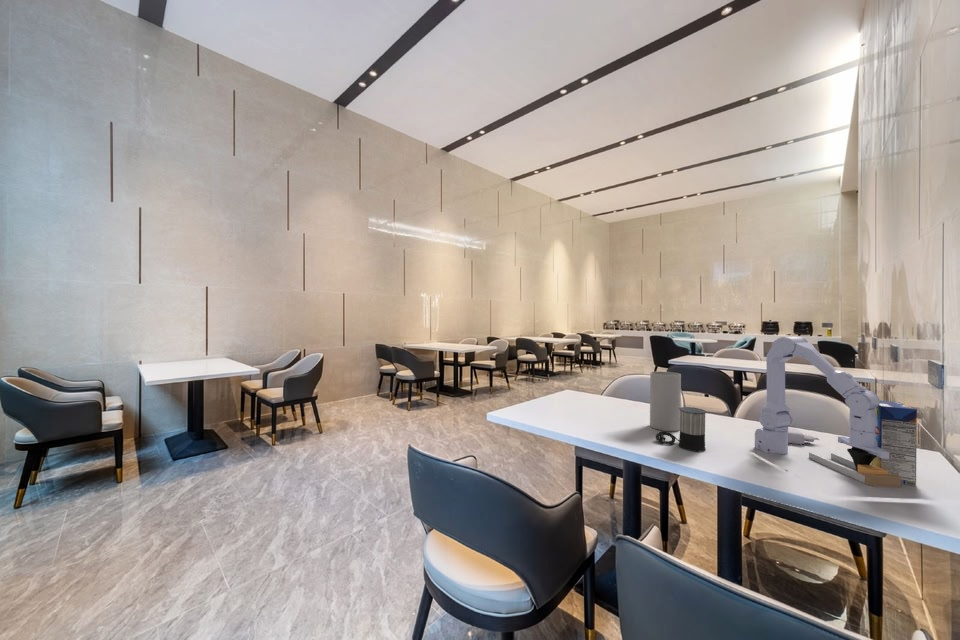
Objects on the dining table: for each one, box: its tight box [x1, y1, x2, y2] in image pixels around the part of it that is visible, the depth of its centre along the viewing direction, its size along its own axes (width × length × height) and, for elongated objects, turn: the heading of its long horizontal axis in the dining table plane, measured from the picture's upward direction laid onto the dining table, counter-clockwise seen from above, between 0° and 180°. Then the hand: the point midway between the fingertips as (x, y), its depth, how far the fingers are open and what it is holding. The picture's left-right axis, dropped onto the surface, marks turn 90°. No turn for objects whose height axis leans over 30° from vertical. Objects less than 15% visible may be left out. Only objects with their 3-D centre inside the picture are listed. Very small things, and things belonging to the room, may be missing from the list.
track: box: [808, 451, 901, 488], centre depth 119 cm, size 8×22×4 cm, turn 176°
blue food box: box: [870, 400, 918, 487], centre depth 116 cm, size 12×8×24 cm, turn 148°
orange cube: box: [858, 465, 888, 475], centre depth 112 cm, size 4×4×4 cm
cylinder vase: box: [649, 371, 682, 432], centre depth 169 cm, size 12×12×25 cm
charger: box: [788, 427, 820, 446], centre depth 151 cm, size 5×9×15 cm
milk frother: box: [655, 406, 707, 452], centre depth 145 cm, size 14×16×15 cm
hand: (861, 473), depth 115 cm, fingers closed
